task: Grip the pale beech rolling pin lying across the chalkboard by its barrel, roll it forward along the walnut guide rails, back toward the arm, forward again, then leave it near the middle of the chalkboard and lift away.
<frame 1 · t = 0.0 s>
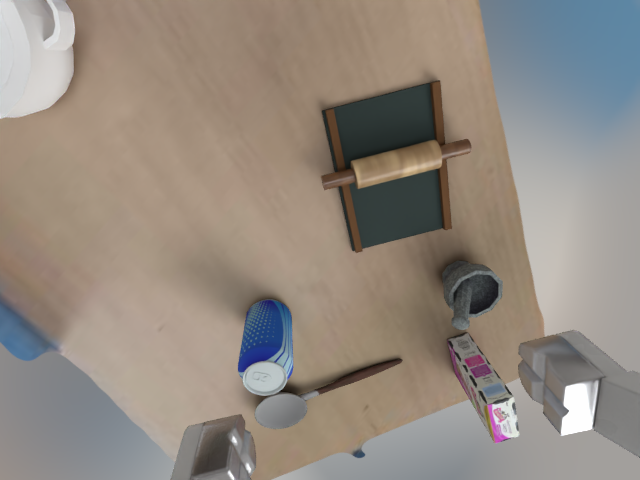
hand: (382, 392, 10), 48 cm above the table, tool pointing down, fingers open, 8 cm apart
chalkboard: (391, 172, 57), on the table
pot: (18, 46, 45), on the table
mortar and pestle: (454, 276, 67), on the table
beer can: (269, 313, 66), on the table
candy bar box: (460, 353, 75), on the table
spoon: (328, 383, 75), on the table
rolling pin: (395, 164, 53), point 3 cm above the table, slide at 0.0 cm
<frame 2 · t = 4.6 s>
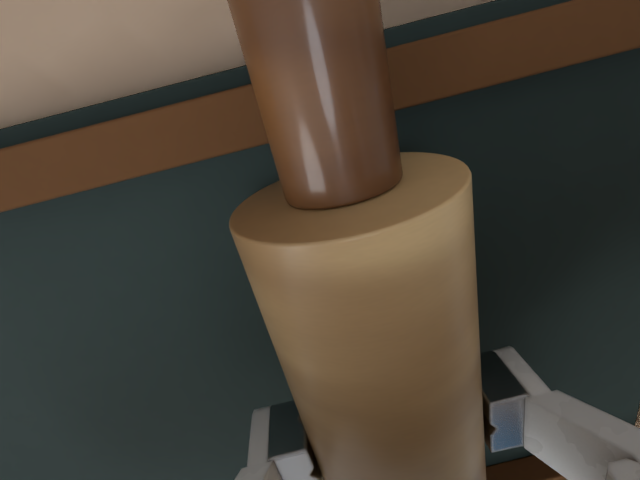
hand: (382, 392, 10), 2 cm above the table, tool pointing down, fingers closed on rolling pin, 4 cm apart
chalkboard: (309, 359, 12), on the table
rolling pin: (392, 419, 9), point 3 cm above the table, slide at -0.1 cm, touching gripper
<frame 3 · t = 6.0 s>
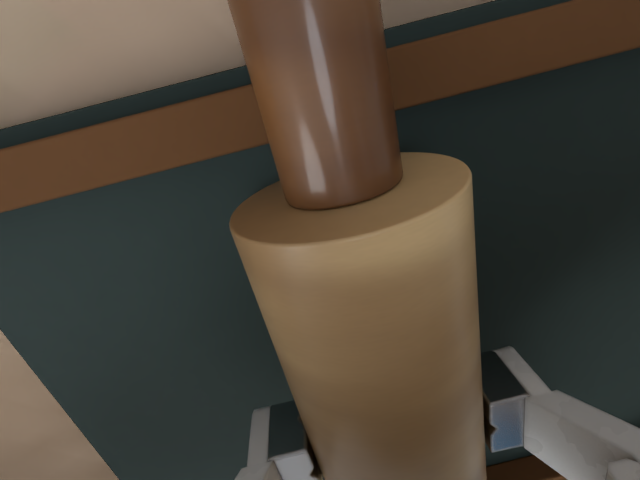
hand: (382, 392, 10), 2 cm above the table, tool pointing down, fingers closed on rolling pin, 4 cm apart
chalkboard: (426, 329, 12), on the table
rolling pin: (392, 419, 9), point 3 cm above the table, slide at 4.0 cm, touching gripper
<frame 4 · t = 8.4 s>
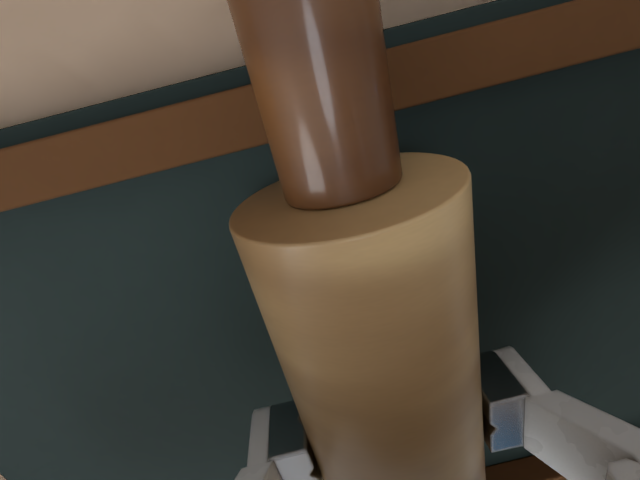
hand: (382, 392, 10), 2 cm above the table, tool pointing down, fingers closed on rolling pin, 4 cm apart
chalkboard: (325, 354, 12), on the table
rolling pin: (392, 418, 9), point 3 cm above the table, slide at 0.5 cm, touching gripper
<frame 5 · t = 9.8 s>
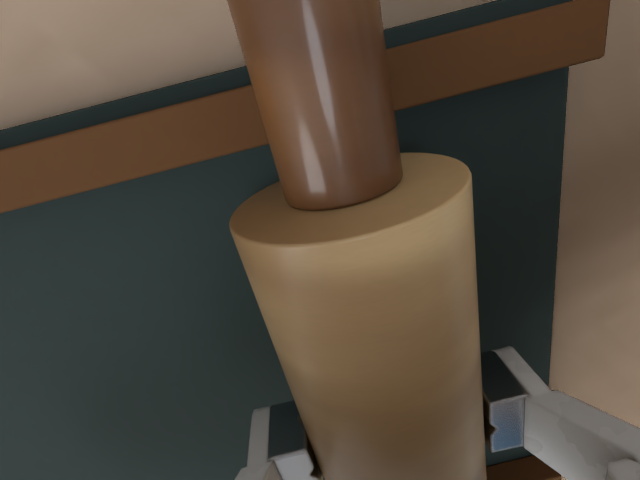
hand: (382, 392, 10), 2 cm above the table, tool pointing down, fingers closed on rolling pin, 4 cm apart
chalkboard: (201, 386, 12), on the table
rolling pin: (392, 419, 9), point 3 cm above the table, slide at -3.9 cm, touching gripper
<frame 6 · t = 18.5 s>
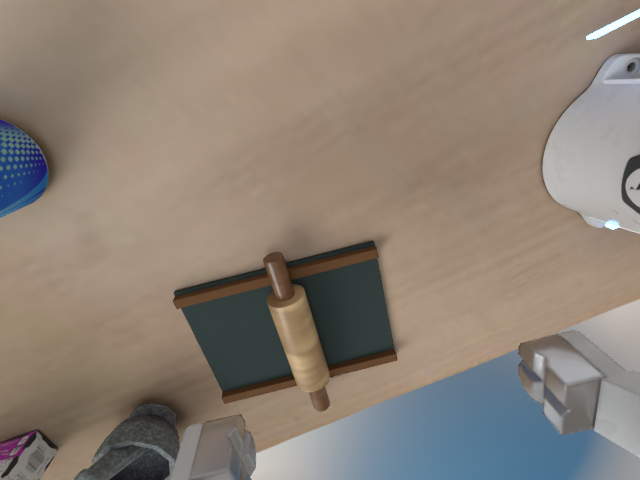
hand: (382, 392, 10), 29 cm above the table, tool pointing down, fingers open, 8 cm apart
chalkboard: (293, 325, 44), on the table
mortar and pestle: (151, 414, 49), on the table
beer can: (9, 160, 34), on the table
candy bar box: (14, 449, 49), on the table
rolling pin: (300, 339, 42), point 3 cm above the table, slide at 1.3 cm
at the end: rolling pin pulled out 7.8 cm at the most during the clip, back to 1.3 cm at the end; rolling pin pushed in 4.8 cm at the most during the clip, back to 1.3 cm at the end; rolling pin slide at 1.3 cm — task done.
